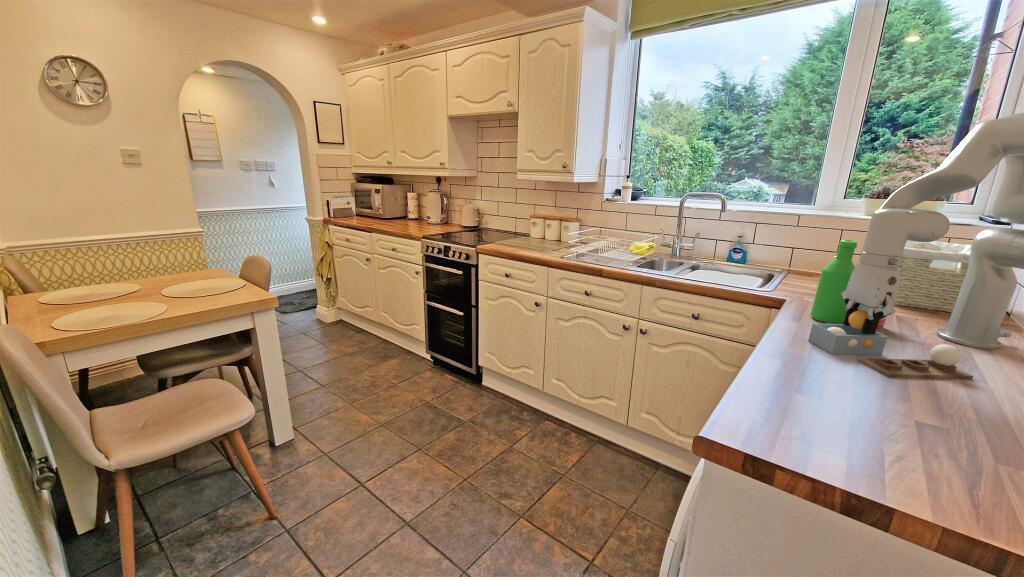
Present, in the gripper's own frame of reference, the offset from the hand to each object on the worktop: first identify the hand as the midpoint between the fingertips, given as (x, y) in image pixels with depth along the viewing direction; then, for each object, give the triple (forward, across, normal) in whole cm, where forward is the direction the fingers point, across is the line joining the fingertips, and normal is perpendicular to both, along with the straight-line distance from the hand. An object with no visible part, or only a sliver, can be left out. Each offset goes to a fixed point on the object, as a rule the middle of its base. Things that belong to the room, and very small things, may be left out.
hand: (858, 328), depth 107 cm
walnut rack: (+5, -12, -4) cm, 14 cm away
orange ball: (-2, 0, 0) cm, 2 cm away
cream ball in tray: (+2, 0, +6) cm, 6 cm away
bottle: (+6, +21, -10) cm, 24 cm away
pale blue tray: (+5, 0, +2) cm, 6 cm away
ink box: (+6, +19, -20) cm, 28 cm away
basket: (+6, +44, -63) cm, 77 cm away
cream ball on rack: (+2, -12, -11) cm, 16 cm away
